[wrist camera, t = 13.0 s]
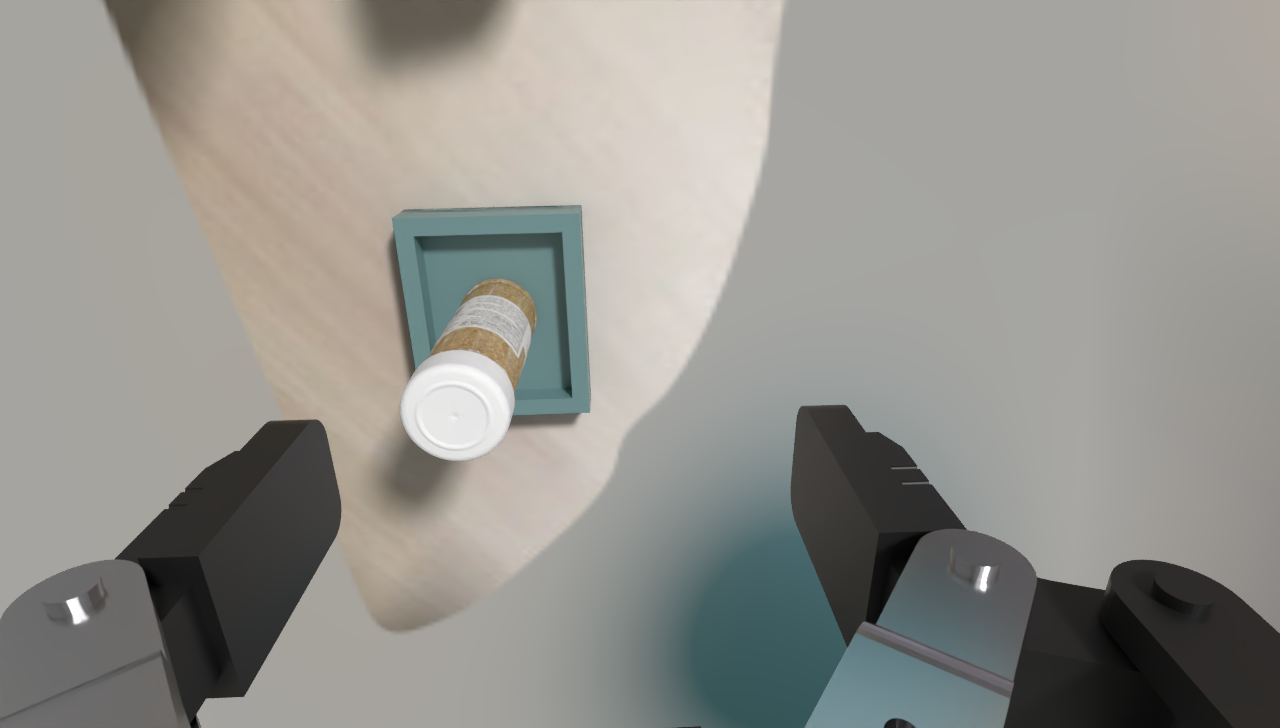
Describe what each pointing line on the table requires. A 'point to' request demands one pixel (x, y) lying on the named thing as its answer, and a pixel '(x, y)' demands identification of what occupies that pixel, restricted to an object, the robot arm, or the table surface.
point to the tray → (512, 250)
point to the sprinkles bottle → (471, 374)
